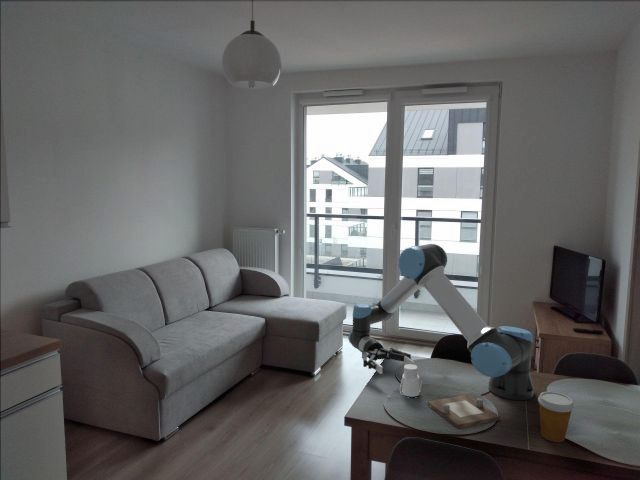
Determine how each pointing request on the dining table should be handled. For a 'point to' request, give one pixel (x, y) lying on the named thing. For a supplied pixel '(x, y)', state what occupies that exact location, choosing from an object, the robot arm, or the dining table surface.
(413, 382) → the downlight
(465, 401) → the pin stand
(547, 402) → the disposable coffee cup
